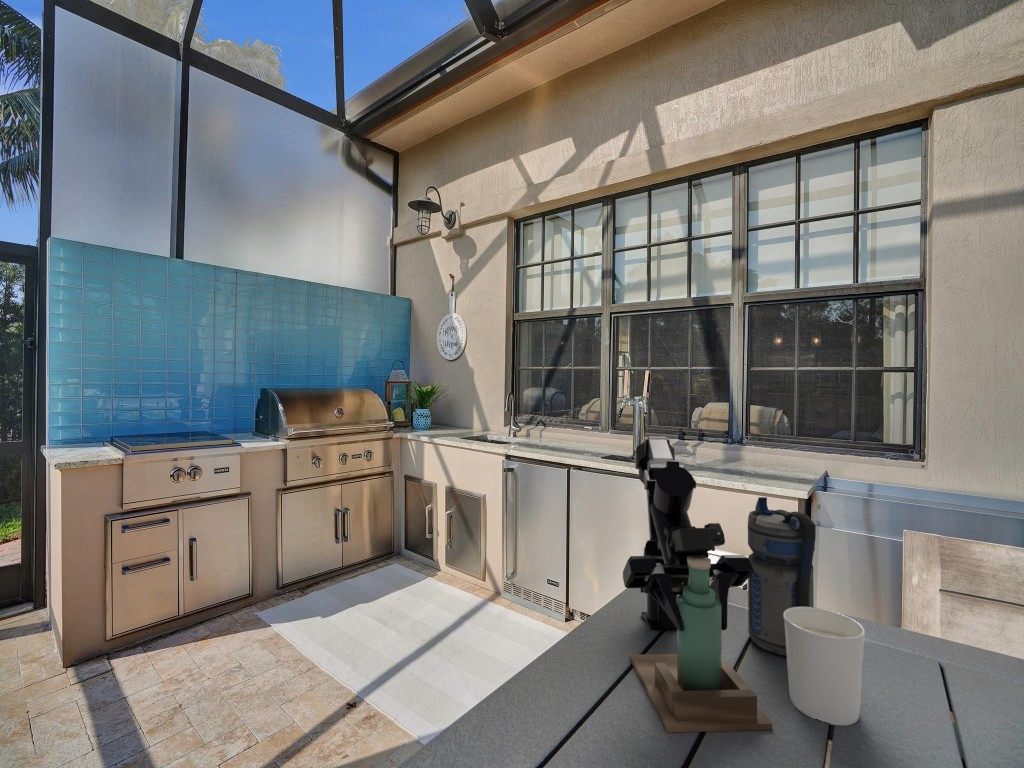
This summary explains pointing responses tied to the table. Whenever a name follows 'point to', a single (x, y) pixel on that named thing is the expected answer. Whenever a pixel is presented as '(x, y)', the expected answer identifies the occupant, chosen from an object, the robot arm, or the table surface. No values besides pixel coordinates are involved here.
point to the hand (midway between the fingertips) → (703, 629)
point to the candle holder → (824, 663)
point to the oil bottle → (699, 631)
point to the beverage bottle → (778, 571)
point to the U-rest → (698, 699)
